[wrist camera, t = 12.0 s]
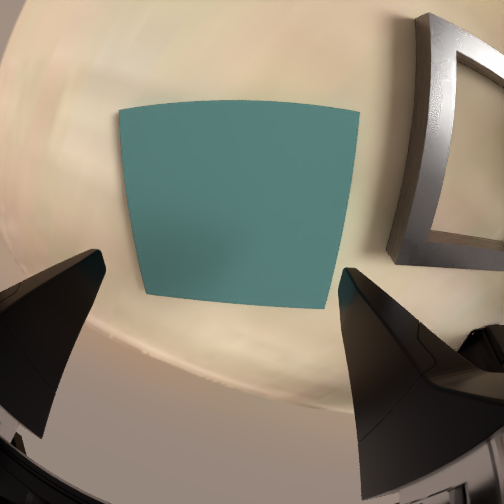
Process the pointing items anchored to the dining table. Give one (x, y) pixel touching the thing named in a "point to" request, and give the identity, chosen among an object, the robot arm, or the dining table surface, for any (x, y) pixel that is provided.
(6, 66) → the dining table surface
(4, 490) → the robot arm
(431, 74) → the gray square frame
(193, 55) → the dining table surface
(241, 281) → the teal mat
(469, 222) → the dining table surface
